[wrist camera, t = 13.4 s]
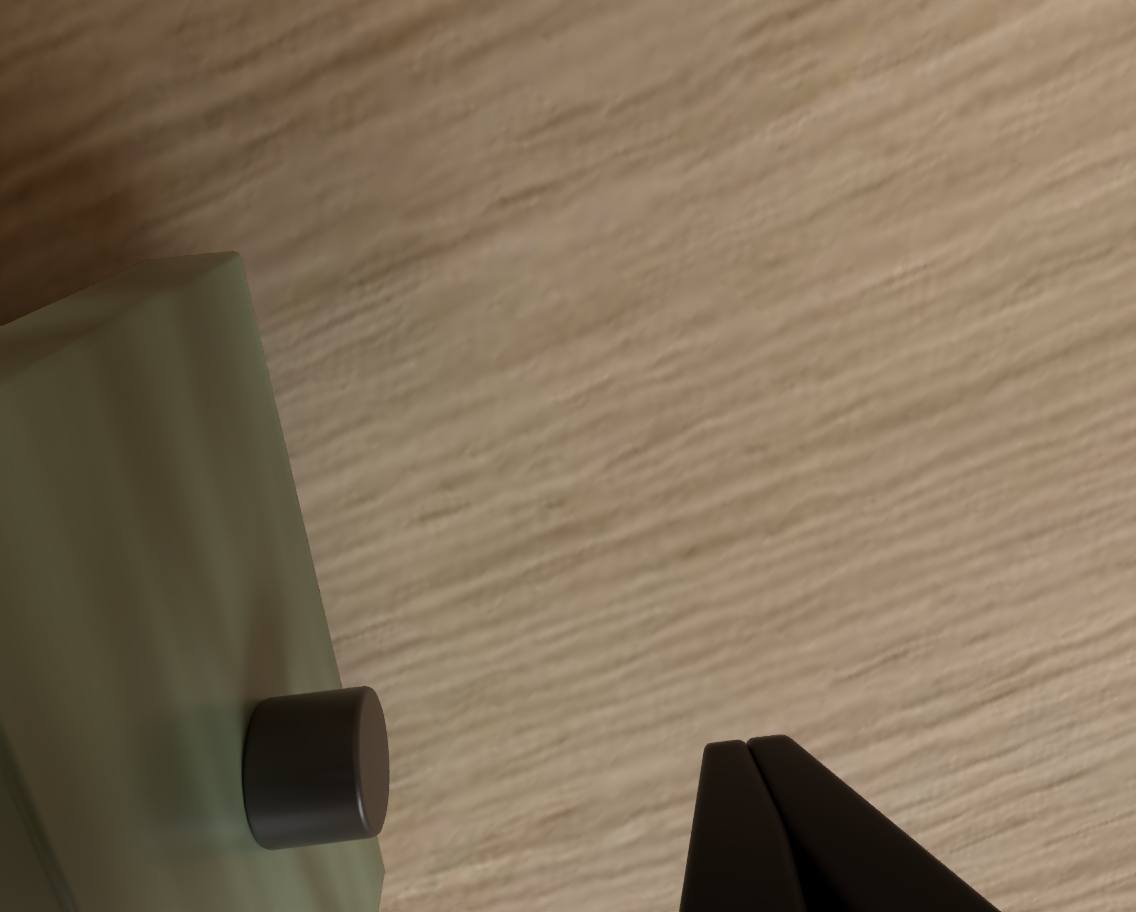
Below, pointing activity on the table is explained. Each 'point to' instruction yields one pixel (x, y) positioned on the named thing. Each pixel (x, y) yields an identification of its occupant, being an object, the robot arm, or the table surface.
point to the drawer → (168, 621)
